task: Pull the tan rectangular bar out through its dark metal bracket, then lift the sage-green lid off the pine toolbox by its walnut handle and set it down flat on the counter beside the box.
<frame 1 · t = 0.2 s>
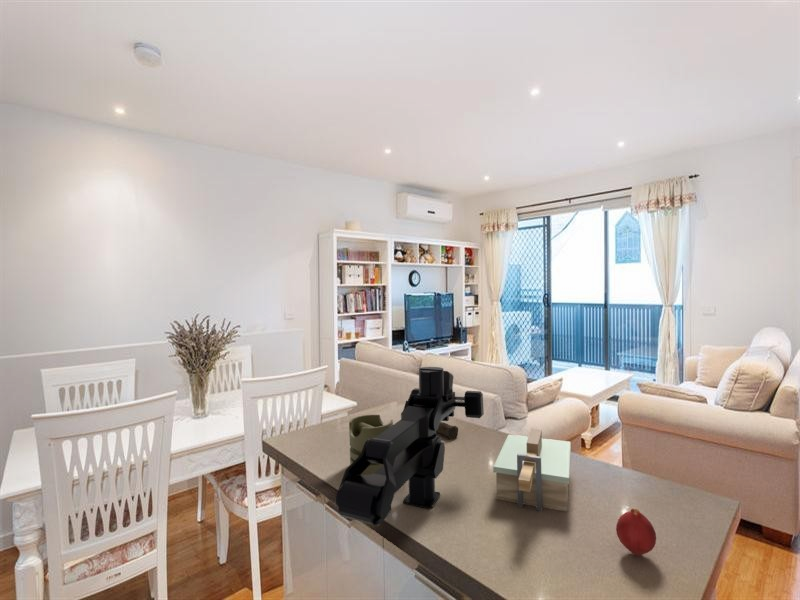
hand: (456, 395, 110), 17 cm above the worktop, tool horizontal, fingers open, 9 cm apart
onion: (636, 555, 68), on the worktop
lid: (534, 462, 93), point 5 cm above the worktop, touching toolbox
tan rectangular bar: (528, 470, 81), point 9 cm above the worktop, slide at 0.0 cm
piston: (372, 467, 105), on the worktop
hand tool: (432, 432, 131), on the worktop
bracket: (529, 508, 83), on the worktop
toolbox: (535, 484, 94), on the worktop
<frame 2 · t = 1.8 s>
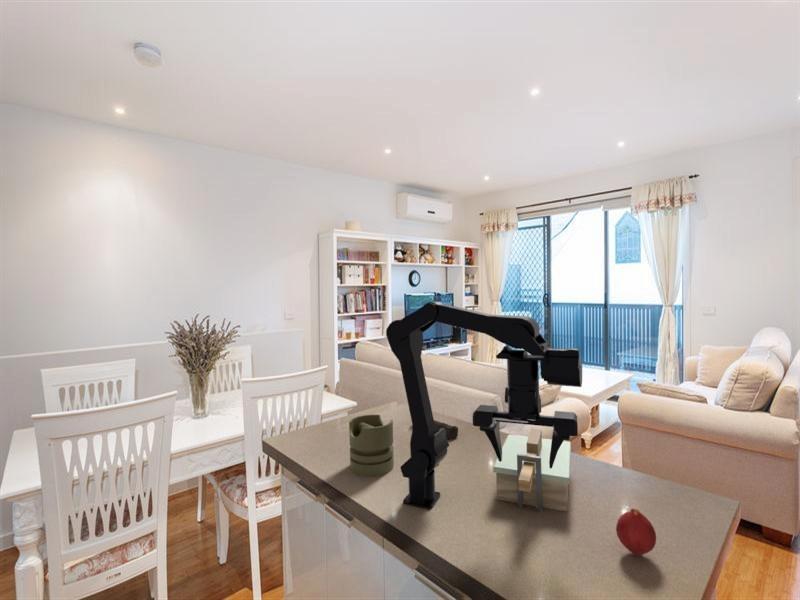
hand: (525, 464, 77), 12 cm above the worktop, tool pointing down, fingers open, 9 cm apart
nothing on the worktop moved.
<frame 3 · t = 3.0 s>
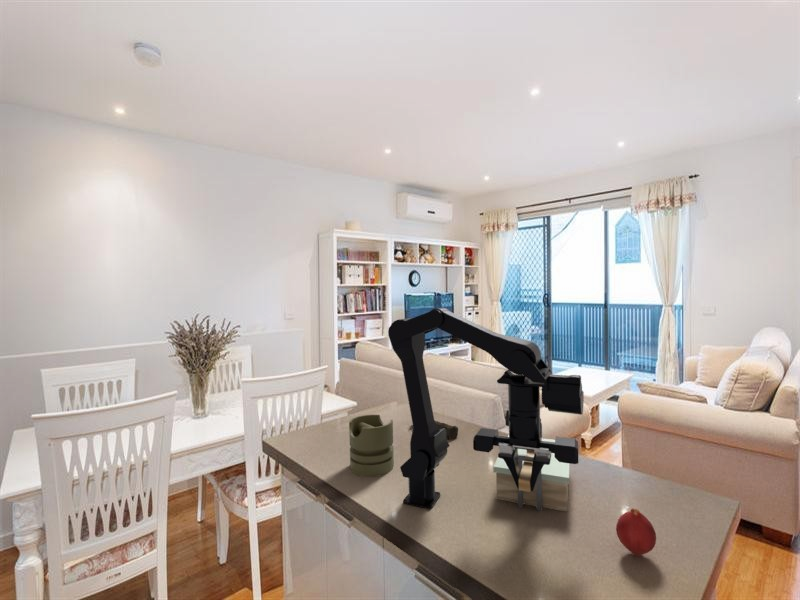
hand: (525, 489, 77), 7 cm above the worktop, tool pointing down, fingers closed on tan rectangular bar, 2 cm apart
tan rectangular bar: (528, 470, 81), point 9 cm above the worktop, slide at 0.0 cm, touching gripper
everything else where it was.
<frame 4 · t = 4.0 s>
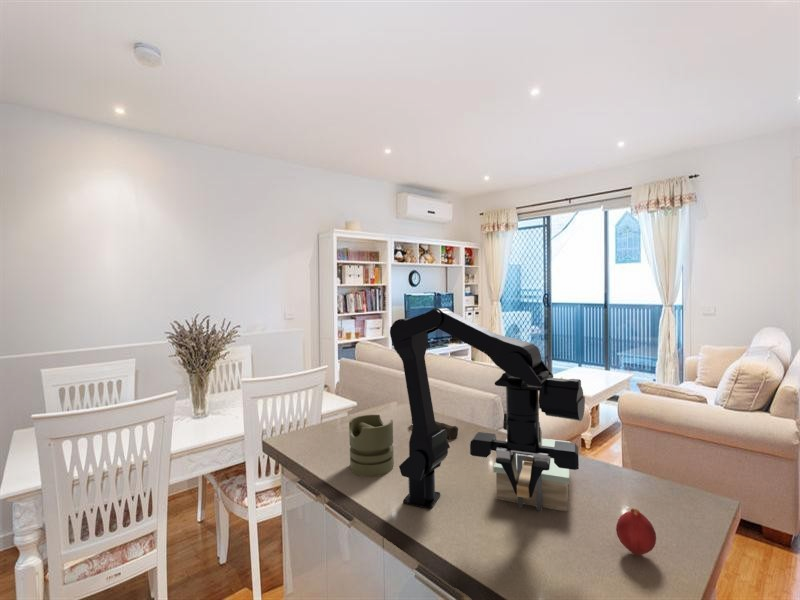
hand: (524, 495, 75), 7 cm above the worktop, tool pointing down, fingers closed on tan rectangular bar, 2 cm apart
tan rectangular bar: (526, 475, 79), point 9 cm above the worktop, slide at 2.5 cm, touching gripper
everything else where it was.
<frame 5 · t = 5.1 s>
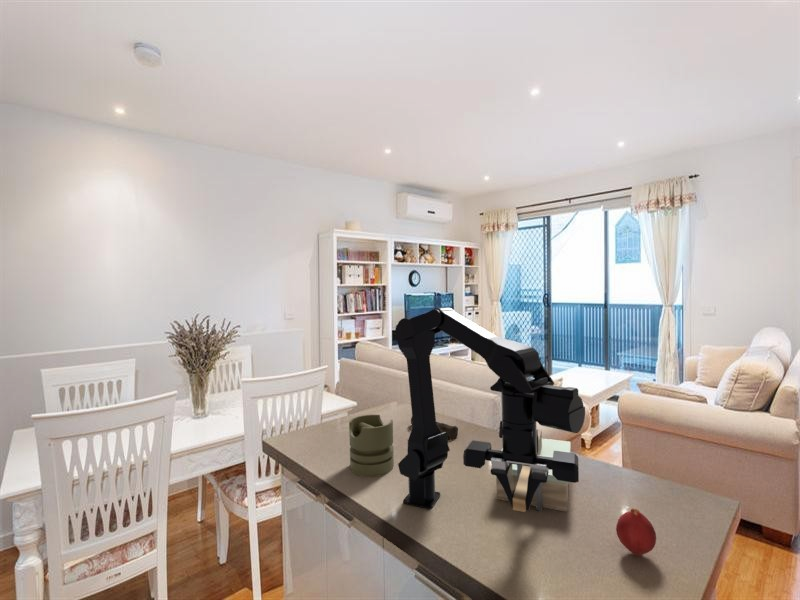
hand: (520, 508, 70), 7 cm above the worktop, tool pointing down, fingers closed on tan rectangular bar, 2 cm apart
tan rectangular bar: (523, 486, 75), point 9 cm above the worktop, slide at 7.4 cm, touching gripper
everything else where it was.
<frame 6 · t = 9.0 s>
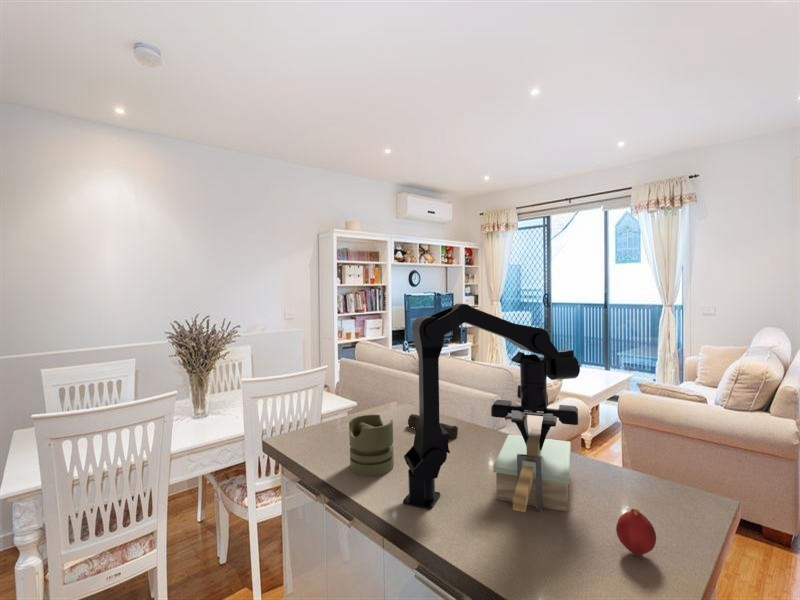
hand: (534, 448, 93), 8 cm above the worktop, tool pointing down, fingers closed on lid, 2 cm apart
lid: (534, 462, 93), point 5 cm above the worktop, touching gripper, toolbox
tan rectangular bar: (523, 486, 75), point 9 cm above the worktop, slide at 7.4 cm
when the fingers open (5 cm above the worktop, at t = 13.5 s): lid drops 2 cm, on the worktop.
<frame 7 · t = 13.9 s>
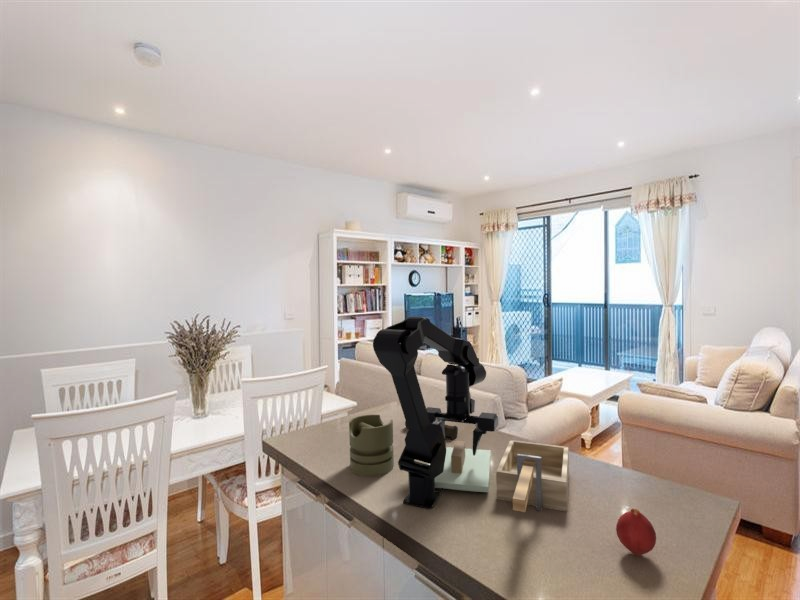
hand: (459, 452, 101), 5 cm above the worktop, tool pointing down, fingers open, 7 cm apart
lid: (458, 473, 100), on the worktop
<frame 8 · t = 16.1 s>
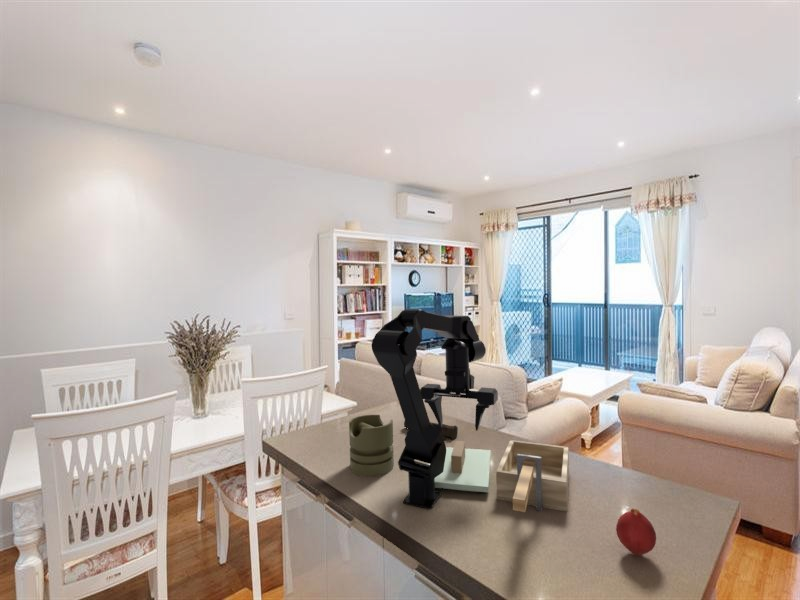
hand: (458, 428, 101), 11 cm above the worktop, tool pointing down, fingers open, 9 cm apart
at the end: tan rectangular bar slide at 7.4 cm; lid inside the target area (0.6 cm from its centre), on the worktop; lid touching worktop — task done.
